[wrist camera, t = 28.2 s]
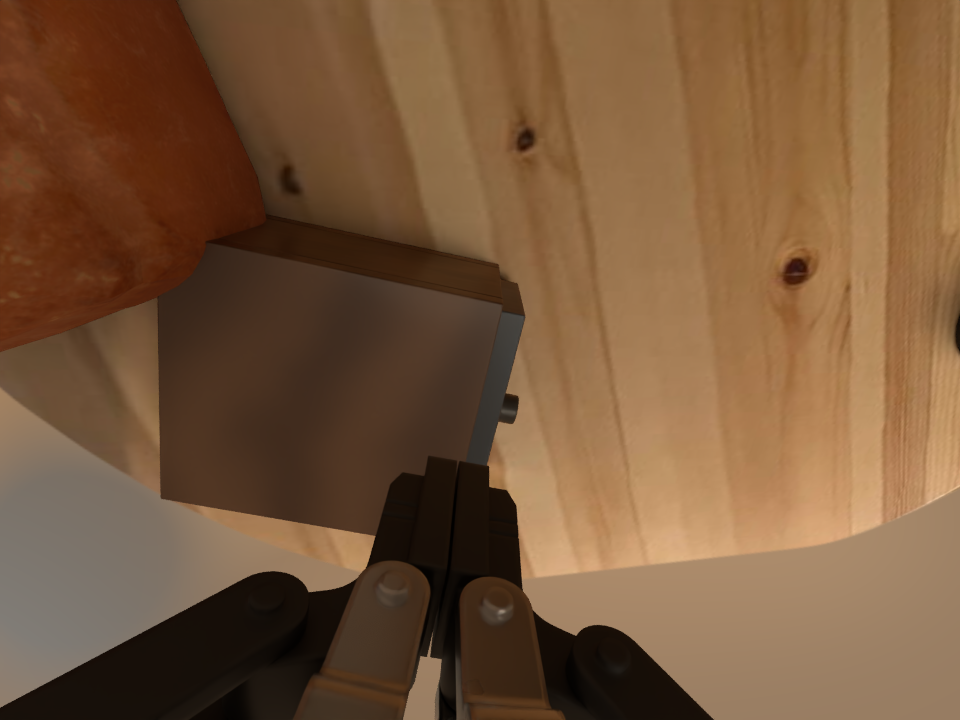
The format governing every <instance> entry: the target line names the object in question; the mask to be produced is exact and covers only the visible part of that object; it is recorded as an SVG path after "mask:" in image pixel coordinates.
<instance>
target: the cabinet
mask: <svg viewBox="0 0 960 720" xmlns="http://www.w3.org/2000/svg"><path fill="white" fill-rule="evenodd" d="M265 215H266V214H265ZM266 219H267V220H266V221H265V222H264V223H263V224H262V225H259V226H256V227H253V228H250V229H247V230H243V231H240V232H237V233H234V234H230V235H227V236H224V237H221V238H219V239H213V240H209V241H206V242H205V243H206V248H205V251H204V254H203V256H202V258H201V260H200V261H199V263H198V265H197V266H196V268H195V270H194V272H193V273H192V275H191V276H189V277H188V278H187V279H186V280H185V281H184V282H182V283H181V284H180V285H179V286H177V287H175V288H173V289H171V290H169V291H167V292H165V293H163V294H161V295H159V296H158V354H159V419H160V485H161V499H166V500H171V501H177V502H183V503H189V504H194V505H200V506H206V507H212V508H218V509H223V510H229V511H235V512H241V513H246V514H252V515H258V516H264V517H270V518H275V519H281V520H287V521H293V522H298V523H304V524H310V525H316V526H322V527H327V528H333V529H339V530H345V531H350V532H356V533H362V534H368V535H374V536H376V533H377V530H378V526H379V522H380V519H381V515H382V512H383V508H384V504H385V502H386V497H387V494H388V490H389V487H390V484H391V483H392V482H393V481H394V480H395V479H396V478H397V477H398V476H399V475H400V474H401V473H402V472H405V473H410V474H416V475H422V476H424V475H425V470H426V465H427V459H428V455H429V456H435V457H441V458H446V459H452V460H457V468H458V464H459V461H464V462H466V459H467V454H468V450H469V446H470V442H471V438H472V434H473V430H474V426H475V421H476V417H477V413H478V409H479V405H480V401H481V397H482V392H483V388H484V384H485V380H486V376H487V372H488V368H489V364H490V359H491V355H492V351H493V347H494V343H495V339H496V335H497V330H498V326H499V322H500V318H501V314H502V310H503V306H504V305H503V297H502V288H501V280H500V272H499V265H498V264H493V263H489V262H484V261H480V260H475V259H470V258H466V257H461V256H456V255H452V254H447V253H442V252H438V251H433V250H429V249H424V248H419V247H415V246H410V245H405V244H401V243H396V242H391V241H387V240H382V239H377V238H373V237H368V236H364V235H359V234H354V233H350V232H345V231H340V230H336V229H331V228H326V227H322V226H317V225H313V224H308V223H303V222H299V221H294V220H289V219H285V218H280V217H275V216H271V215H266ZM456 473H457V471H456Z"/></svg>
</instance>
